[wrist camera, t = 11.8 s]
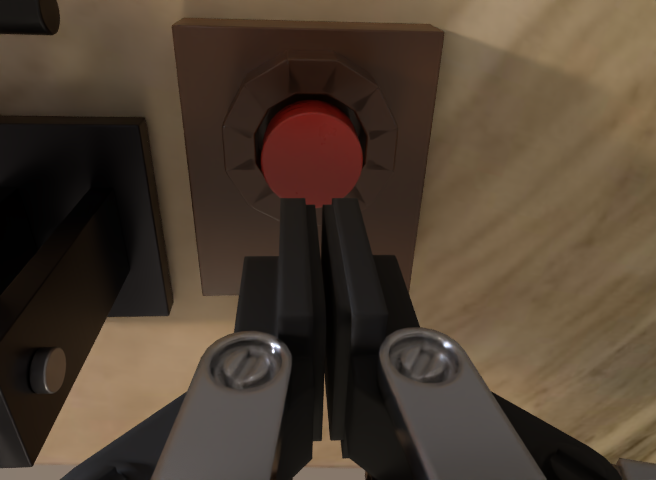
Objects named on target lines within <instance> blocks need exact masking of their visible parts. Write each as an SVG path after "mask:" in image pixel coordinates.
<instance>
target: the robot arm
mask: <svg viewBox="0 0 656 480" xmlns="http://www.w3.org/2000/svg"><path fill="white" fill-rule="evenodd" d="M324 373H325V385H326V397H327V409H328V421H329V432H330V440H331V441H332V440H341V448H342V458H350V459H351V460H352V461H354V462H355V463H356V464H358V465H359V466H360V467H362V468H363V469H364V470H365V478H366V480H656V464H654V463H648V462H642V461H636V460H629V459H623V458H619V459H618V461H617V463H616V465H614V464H610V462H609V461H608V460H607V459H606V458H605V457H603V456H602V455H600V454H599V453H597V452H596V451H595V450H593V449H592V448H590V447H589V446H587V445H585V444H583V443H582V442H580V441H578V440H576V439H574V438H573V437H571V436H569V435H567V434H566V433H564V432H562V431H560V430H559V429H557V428H555V427H553V426H551V425H550V424H548V423H546V422H544V421H543V420H541V419H539V418H537V417H535V416H534V415H532V414H530V413H528V412H527V411H525V410H523V409H521V408H520V407H518V406H516V405H514V404H512V403H511V402H509V401H507V400H505V399H504V398H502V397H500V396H498V395H496V394H495V393H493V392H491V391H490V390H489V388H488V386H487V385H486V383H485V382H484V380H483V379H482V377H481V376H480V374H479V372H478V371H477V369H476V368H475V366H474V365H473V363H472V361H471V360H470V358H469V357H468V355H467V354H466V352H465V351H464V349H463V348H462V347H461V346H460V345H459V344H458V343H457V342H456V341H455V340H453V339H452V338H450V337H449V336H447V335H446V334H443V333H441V332H438V331H436V330H432V329H427V328H422V327H420V326H419V323H418V320H417V317H416V314H415V311H414V308H413V305H412V302H411V299H410V296H409V293H408V290H407V287H406V284H405V281H404V278H403V275H402V272H401V269H400V267H399V264H398V261H397V258H396V256H395V255H373V254H372V251H371V247H370V243H369V239H368V236H367V232H366V228H365V224H364V221H363V217H362V213H361V209H360V206H359V202H358V199H357V198H332V203H331V205H323V206H322V233H321V257H320V247H319V237H318V228H317V218H316V208H315V205H306V201H305V198H280V235H279V256H245V257H244V262H243V269H242V277H241V284H240V292H239V299H238V307H237V314H236V321H235V329H234V333H233V334H229V335H227V336H224V337H222V338H220V339H218V340H216V341H215V342H214V343H213V344H212V345H210V346H209V347H208V348H207V349H206V351H205V353H204V354H203V356H202V357H201V359H200V362H199V364H198V366H197V369H196V371H195V374H194V376H193V379H192V381H191V383H190V386H189V388H188V391H187V392H185V393H184V394H183V395H181V396H180V397H178V398H177V399H175V400H174V401H172V402H171V403H169V404H168V405H166V406H165V407H163V408H162V409H160V410H159V411H157V412H156V413H154V414H153V415H152V416H150V417H149V418H147V419H146V420H144V421H143V422H141V423H140V424H138V425H137V426H135V427H134V428H132V429H131V430H129V431H128V432H126V433H125V434H124V435H122V436H121V437H119V438H118V439H116V440H115V441H113V442H112V443H110V444H109V445H107V446H106V447H104V448H103V449H101V450H100V451H98V452H97V453H95V454H94V455H93V456H91V457H90V458H88V459H87V460H85V461H84V462H82V463H81V464H79V465H78V466H76V467H75V468H73V469H72V470H71V471H70V472H69V473H68V474H66V475H65V476H64V477H63V478H62V479H60V480H292V479H293V477H294V476H295V475H296V474H297V473H298V472H299V471H300V470H301V469H302V468H303V467H304V466H305V465H306V464H307V463H308V462H309V461H310V460H311V459H312V446H313V441H322V421H323V396H324Z"/></svg>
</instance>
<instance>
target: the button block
mask: <svg viewBox="0 0 656 480" xmlns="http://www.w3.org/2000/svg"><path fill="white" fill-rule="evenodd" d="M172 33H173V42H174V50H175V59H176V68H177V77H178V85H179V94H180V103H181V111H182V120H183V129H184V137H185V146H186V155H187V163H188V172H189V181H190V190H191V198H192V207H193V216H194V224H195V233H196V242H197V250H198V259H199V268H200V277H201V285H202V294H203V296H221V295H239V292H240V284H241V277H242V269H243V262H244V257H245V256H279V235H280V197H278V196H277V195H276V194H275V193H274V192H273V191H272V190H271V188H270V187H269V186H268V184H267V182H266V181H265V178H264V176H263V173H262V169H261V152H262V145H263V139H264V134H265V131H266V128H267V126H268V124H269V122H270V121H271V119H272V118H273V117H274V116H275V114H276V113H278V112H279V111H280V110H281V109H282V108H284V107H286V106H287V105H289V104H291V103H294V102H297V101H302V100H320V101H324V102H327V103H330V104H332V105H334V106H336V107H337V108H339V109H340V110H341V111H343V112H344V113H345V114H346V115H347V117H348V118H349V119H350V121H351V122H352V124H353V126H354V128H355V130H356V133H357V136H358V139H359V142H360V144H361V148H362V153H363V166H362V171H361V175H360V177H359V179H358V181H357V183H356V185H355V186H354V188H353V189H352V190H351V191H350V192H349V193H348V194H347V195H346V196H345V197H344V198H357V199H358V202H359V206H360V209H361V213H362V217H363V221H364V224H365V228H366V232H367V236H368V239H369V243H370V247H371V251H372V254H373V255H395V256H396V258H397V261H398V264H399V267H400V269H401V272H402V275H403V278H404V281H405V284H406V287H407V290H408V293H409V288H410V280H411V273H412V266H413V259H414V251H415V244H416V237H417V230H418V222H419V215H420V208H421V200H422V193H423V186H424V179H425V171H426V164H427V157H428V149H429V142H430V135H431V128H432V120H433V113H434V106H435V99H436V91H437V84H438V77H439V69H440V62H441V55H442V48H443V40H444V32H443V31H441V30H440V29H438V28H436V27H434V26H432V25H430V24H403V23H365V22H327V21H288V20H250V19H212V18H182V19H181V20H179V21H178V22H176V23H175V24H173V25H172ZM316 218H317V228H318V237H319V247H320V257H321V233H322V207H321V208H316Z"/></svg>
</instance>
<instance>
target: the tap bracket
mask: <svg viewBox="0 0 656 480" xmlns="http://www.w3.org/2000/svg"><path fill="white" fill-rule="evenodd" d="M172 305H173V296H172V289H171V283H170V276H169V270H168V263H167V256H166V250H165V243H164V237H163V230H162V223H161V217H160V210H159V204H158V197H157V191H156V184H155V177H154V171H153V164H152V158H151V151H150V145H149V138H148V131H147V125H146V119H145V118H143V117H65V116H0V468H18V467H32V466H33V465H34V463H35V461H36V459H37V457H38V455H39V453H40V451H41V449H42V447H43V445H44V443H45V441H46V439H47V437H48V435H49V432H50V430H51V428H52V426H53V424H54V422H55V420H56V418H57V416H58V414H59V412H60V410H61V408H62V406H63V404H64V402H65V400H66V398H67V396H68V394H69V392H70V390H71V388H72V386H73V384H74V382H75V380H76V378H77V376H78V374H79V372H80V370H81V368H82V366H83V364H84V362H85V360H86V358H87V356H88V354H89V352H90V350H91V348H92V346H93V344H94V342H95V340H96V338H97V336H98V334H99V332H100V330H101V328H102V326H103V324H104V322H105V320H106V318H107V317H137V316H169V314H170V311H171V308H172Z"/></svg>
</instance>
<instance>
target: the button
mask: <svg viewBox="0 0 656 480" xmlns="http://www.w3.org/2000/svg"><path fill="white" fill-rule="evenodd" d="M362 166H363V153H362V148H361V144H360V142H359V139H358V136H357V133H356V130H355V128H354V126H353V124H352V122H351V121H350V119H349V118H348V117H347V115H346V114H345V113H344V112H343V111H341V110H340V109H339V108H337V107H336V106H334V105H332V104H330V103H327V102H324V101H320V100H302V101H297V102H294V103H291V104H289V105H287V106H286V107H284V108H282V109H281V110H280V111H279V112H278V113H276V114H275V116H274V117H273V118H272V119H271V121H270V122H269V124H268V126H267V128H266V131H265V134H264V139H263V145H262V152H261V169H262V173H263V176H264V178H265V181H266V182H267V184H268V186H269V187H270V188H271V190H272V191H273V192H274V193H275V194H276V195H277V196H278V197H280V198H305V201H306V205H315V208H321V207H322V206H323V205H331V203H332V198H344V197H345V196H346V195H347V194H348V193H349V192H350V191H351V190H352V189H353V188H354V186H355V185H356V183H357V181H358V179H359V177H360V175H361V171H362Z"/></svg>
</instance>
